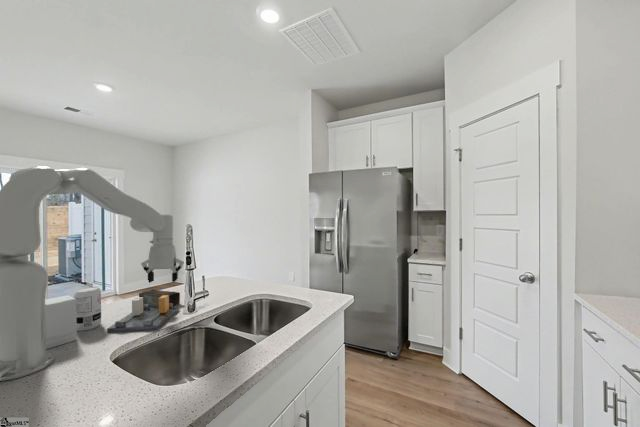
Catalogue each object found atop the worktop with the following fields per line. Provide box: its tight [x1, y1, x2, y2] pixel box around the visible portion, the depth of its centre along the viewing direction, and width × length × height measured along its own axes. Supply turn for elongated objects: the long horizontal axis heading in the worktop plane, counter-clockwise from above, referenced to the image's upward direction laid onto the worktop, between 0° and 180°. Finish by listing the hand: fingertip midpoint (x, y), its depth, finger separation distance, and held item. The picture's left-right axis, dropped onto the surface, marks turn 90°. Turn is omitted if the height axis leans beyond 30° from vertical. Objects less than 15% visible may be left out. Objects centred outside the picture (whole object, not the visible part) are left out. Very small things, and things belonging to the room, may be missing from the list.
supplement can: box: [73, 286, 102, 332], centre depth 108 cm, size 8×8×15 cm
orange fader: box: [159, 295, 169, 313], centre depth 120 cm, size 4×2×7 cm, turn 7°
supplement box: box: [45, 294, 78, 350], centre depth 96 cm, size 9×9×15 cm
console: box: [106, 303, 180, 333], centre depth 115 cm, size 21×18×4 cm
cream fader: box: [131, 296, 143, 316], centre depth 117 cm, size 4×2×7 cm, turn 7°
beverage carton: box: [138, 289, 181, 308], centre depth 135 cm, size 8×19×7 cm, turn 70°
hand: (162, 281), depth 119 cm, fingers open, 9 cm apart
